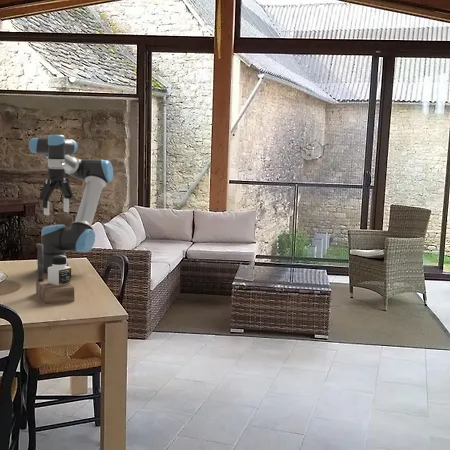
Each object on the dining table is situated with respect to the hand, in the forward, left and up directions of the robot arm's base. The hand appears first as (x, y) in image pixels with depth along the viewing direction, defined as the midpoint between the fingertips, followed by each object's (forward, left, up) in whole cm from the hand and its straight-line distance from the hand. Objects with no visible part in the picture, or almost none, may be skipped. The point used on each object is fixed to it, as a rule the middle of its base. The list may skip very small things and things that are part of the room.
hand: (56, 213), depth 289 cm
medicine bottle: (+20, +19, -27) cm, 39 cm away
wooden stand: (+22, +18, -33) cm, 43 cm away
